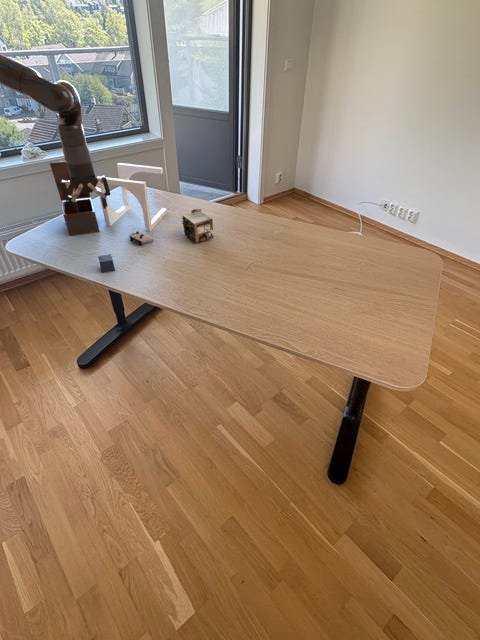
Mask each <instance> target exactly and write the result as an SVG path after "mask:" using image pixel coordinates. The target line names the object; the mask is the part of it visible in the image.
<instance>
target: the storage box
mask: <svg viewBox="0 0 480 640" xmlns="http://www.w3.org/2000/svg"><path fill="white" fill-rule="evenodd" d="M60 201H61V208H62V215H63V218H64V222H65V226H66V229H67V231H68V235H69V237H72V236H73V237H74V236H80V235H87V234H95V233H100V231H101V230H100V227H99V222H98V218H97V215H96V211H95V207H94V204H93V200H92V198H91V197H88V198H79V199H76V201H77V205H78V208H79V213H77V211H75V210H74V207H73V204H72V202H71V201H66V200H60Z"/></svg>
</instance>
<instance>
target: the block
mask: <svg viewBox="0 0 480 640" xmlns="http://www.w3.org/2000/svg"><path fill="white" fill-rule="evenodd" d="M97 258H98V261H99V266H100V270H101V272H102V274H105V273H111V272H115V271H116V267H115V263H114V259H113V256H112V253H109V254H101V255H98V256H97Z"/></svg>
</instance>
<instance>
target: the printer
mask: <svg viewBox="0 0 480 640" xmlns="http://www.w3.org/2000/svg"><path fill="white" fill-rule="evenodd" d="M181 219H182V221H181V224H182V226H183V234H184V236H187V237H186V238H188V239H190V240H191V241H192V242H194V243H200V242H203V241H207V240H210V239H213V238H214V236H215V235H214V234H213V233H212V232H211V230H212V231H214V222H213V218H212V217H210V216H209V215H207V214H205V213H204V212H203V211H202V209H201V208H196V209H192V210H191V213H187V214H183V215H182V218H181Z"/></svg>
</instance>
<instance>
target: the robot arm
mask: <svg viewBox="0 0 480 640" xmlns="http://www.w3.org/2000/svg"><path fill="white" fill-rule="evenodd" d="M0 85H1V86H3V87H5V88H6V89H9V90H12V91H13V92H16V93H18V94H21V95H22V96H25V97H28V98H30V99H32V101H34V102H36V103H38V104H39V105H41V106H42V107H43V108H45V109H46V110H49V111H51V112H53V113H56V114H58V123H57V133H58V136H59V140H60V144H61V147H62V154H63V157H64V161H66V164H67V168H68V172H69V175H70V181H64V180H61V185H62V189H63V194H64V198H65V200H64V201H71V202H72V204H73V207H74V210H75V211H77V213H79V208H78V205H77V201H76V200H77V197H78V196H79V193H82V194H84V193H87V192H88V193H90V194H91V193H93V192H95V194H97V195H98V196H99V195H100V196H101V200H102V205H103V208H104V209H106V207H107V202H106V196H107V197H108V196H111V190H110V187H109V185H108V183H107V180H106V177H107V176H106V175H105V174H104V175H103V174H102V175H101V176H100V177H98V176H96V173H95V168H94V164H93V160H92V155H91V152H90V148H89V147H88V143H87V139H86V135H85V131H84V127H83V114H82V105H81V104H82V103H81V99H80V95H79V93H78V91H77V89H76V88H75V86H74V85H72V84H71V83H70V82H69V81H66V80H58V81H55V82H53V81H50V80H48V79H46V78H44V77H42V76H41V74H40V73H39V72H38V71H37V70H36V69H33V68H31V67H30V66H27V64H24V63H21V62H19V61H17V60H15V59H13V58H10V57H8V56H6V55H3V54H1V53H0ZM98 181H100V182H101V184H104V188H105V191H104V192H102V191H101V190H100V189H99V188H98V187H97V183H98ZM70 184H71V185H72V186H73V187H74V190H73V193H72V195H71V196H68V193H67V188H69V185H70ZM100 196H99V197H100ZM102 205H101V206H102Z"/></svg>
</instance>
